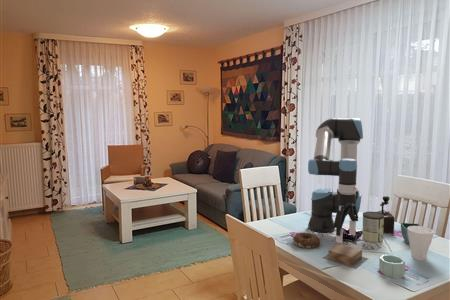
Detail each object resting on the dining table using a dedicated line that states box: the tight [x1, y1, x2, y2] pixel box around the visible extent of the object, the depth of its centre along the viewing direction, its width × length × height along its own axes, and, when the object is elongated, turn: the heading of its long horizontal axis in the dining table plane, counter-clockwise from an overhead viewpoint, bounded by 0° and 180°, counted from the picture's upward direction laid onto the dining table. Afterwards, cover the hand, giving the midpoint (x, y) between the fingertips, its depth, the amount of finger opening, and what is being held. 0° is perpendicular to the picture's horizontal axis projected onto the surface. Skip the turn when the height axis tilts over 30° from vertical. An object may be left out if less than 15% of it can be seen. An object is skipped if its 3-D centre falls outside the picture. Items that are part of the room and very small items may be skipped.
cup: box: [407, 225, 434, 261], centre depth 158 cm, size 10×10×14 cm
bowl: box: [378, 254, 406, 279], centre depth 144 cm, size 9×9×6 cm
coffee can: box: [361, 211, 384, 245], centre depth 179 cm, size 10×10×14 cm
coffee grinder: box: [377, 195, 395, 235], centre depth 196 cm, size 16×11×18 cm
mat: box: [322, 253, 369, 270], centre depth 157 cm, size 16×14×1 cm
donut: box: [292, 232, 321, 249], centre depth 175 cm, size 14×14×5 cm
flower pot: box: [400, 222, 421, 245], centre depth 175 cm, size 9×9×9 cm
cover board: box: [328, 243, 363, 266], centre depth 157 cm, size 11×11×4 cm
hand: (345, 238), depth 156 cm, fingers open, 13 cm apart
